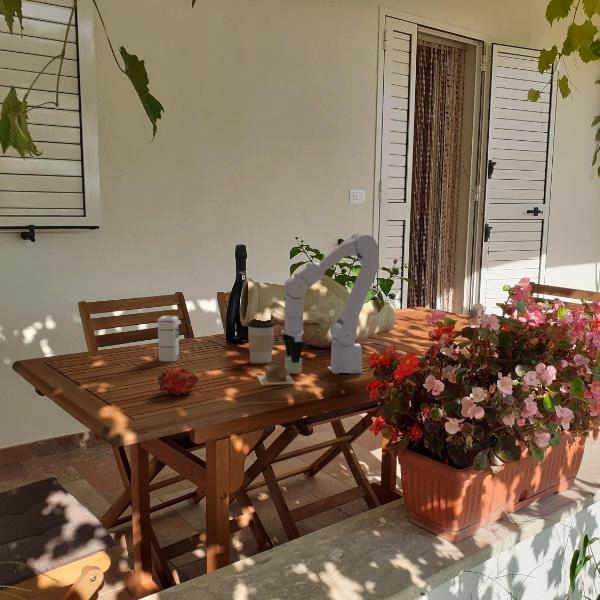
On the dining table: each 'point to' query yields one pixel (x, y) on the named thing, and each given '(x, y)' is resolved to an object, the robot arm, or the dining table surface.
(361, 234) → the robot arm
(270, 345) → the coffee cup
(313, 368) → the dining table surface
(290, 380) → the stone tile
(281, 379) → the walnut block
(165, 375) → the dragon fruit
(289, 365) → the sage block
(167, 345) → the syrup box
